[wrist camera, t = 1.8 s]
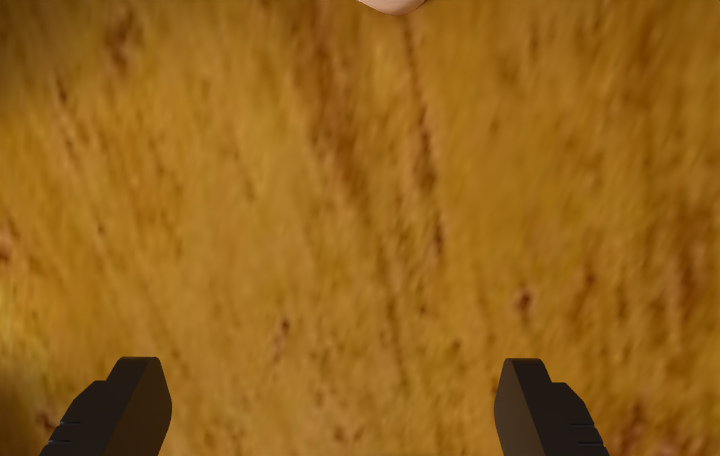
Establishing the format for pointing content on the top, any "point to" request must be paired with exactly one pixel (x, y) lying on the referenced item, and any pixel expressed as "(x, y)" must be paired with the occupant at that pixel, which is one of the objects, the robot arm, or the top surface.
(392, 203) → the top surface
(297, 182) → the top surface
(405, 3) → the pink tapered cylinder
